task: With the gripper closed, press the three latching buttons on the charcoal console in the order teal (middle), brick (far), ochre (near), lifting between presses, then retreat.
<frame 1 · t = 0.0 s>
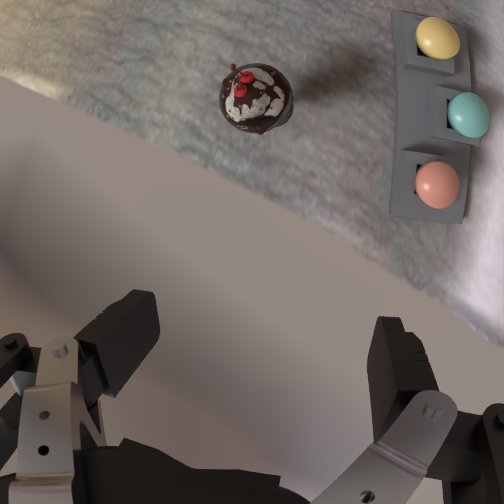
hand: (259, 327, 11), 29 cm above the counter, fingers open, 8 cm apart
button teal: (464, 115, 25), point 5 cm above the counter, slide at 0.0 cm
button ochre: (433, 41, 23), point 5 cm above the counter, slide at 0.0 cm
sundae: (271, 107, 35), on the counter
console: (432, 114, 31), on the counter
button brick: (433, 182, 29), point 5 cm above the counter, slide at 0.0 cm
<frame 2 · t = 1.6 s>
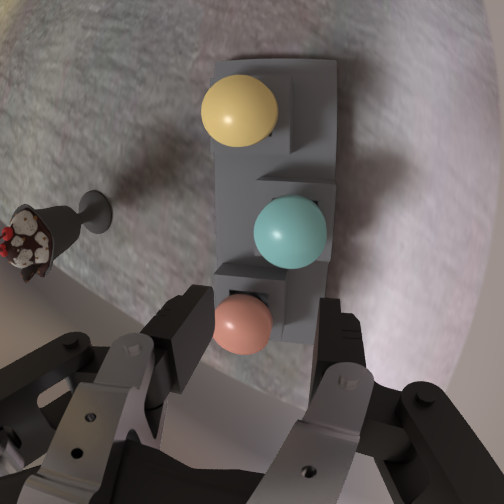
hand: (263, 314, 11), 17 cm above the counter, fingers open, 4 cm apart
button teal: (292, 226, 22), point 5 cm above the counter, slide at 0.0 cm
button ochre: (244, 112, 20), point 5 cm above the counter, slide at 0.0 cm
sundae: (95, 211, 32), on the counter
console: (275, 208, 28), on the counter
button brick: (245, 317, 26), point 5 cm above the counter, slide at 0.0 cm
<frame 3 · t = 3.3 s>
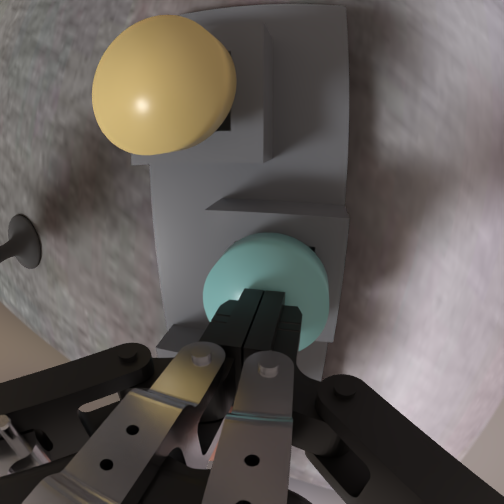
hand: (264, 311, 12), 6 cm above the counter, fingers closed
button teal: (272, 283, 13), point 4 cm above the counter, slide at 1.1 cm, touching gripper
button ochre: (176, 88, 10), point 5 cm above the counter, slide at 0.0 cm
sundae: (25, 240, 22), on the counter
console: (247, 246, 18), on the counter
button brick: (202, 410, 16), point 5 cm above the counter, slide at 0.0 cm
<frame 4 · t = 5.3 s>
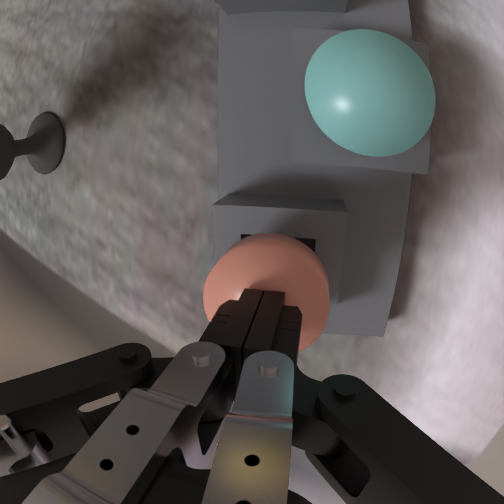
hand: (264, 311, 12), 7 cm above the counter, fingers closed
button teal: (364, 97, 11), point 4 cm above the counter, slide at 1.3 cm
sundae: (46, 142, 19), on the counter
console: (317, 103, 15), on the counter
button brick: (272, 283, 13), point 5 cm above the counter, slide at 0.1 cm, touching gripper
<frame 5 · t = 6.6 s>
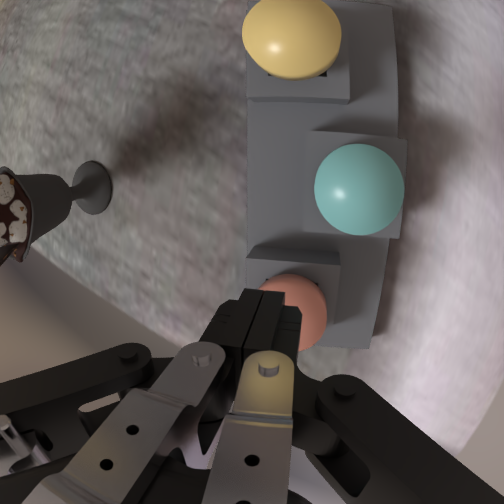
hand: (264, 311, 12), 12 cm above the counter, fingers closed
button teal: (356, 185, 17), point 4 cm above the counter, slide at 1.3 cm
button ochre: (294, 42, 14), point 5 cm above the counter, slide at 0.0 cm
sundae: (92, 187, 26), on the counter
console: (321, 176, 21), on the counter
button brick: (290, 304, 20), point 4 cm above the counter, slide at 1.3 cm
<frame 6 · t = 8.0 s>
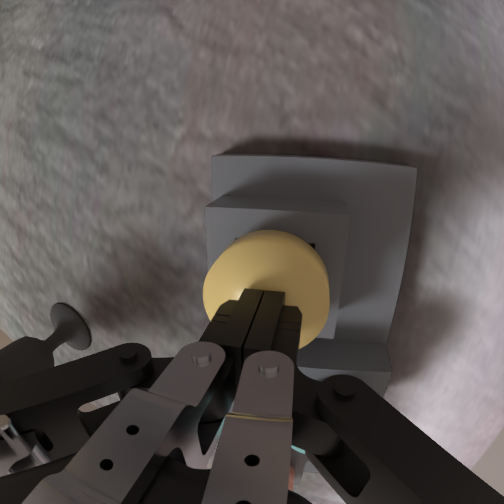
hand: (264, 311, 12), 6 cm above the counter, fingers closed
button teal: (328, 407, 16), point 4 cm above the counter, slide at 1.3 cm
button ochre: (272, 280, 13), point 4 cm above the counter, slide at 1.0 cm, touching gripper
sundae: (70, 325, 24), on the counter
console: (300, 360, 20), on the counter
button brick: (264, 465, 19), point 4 cm above the counter, slide at 1.3 cm
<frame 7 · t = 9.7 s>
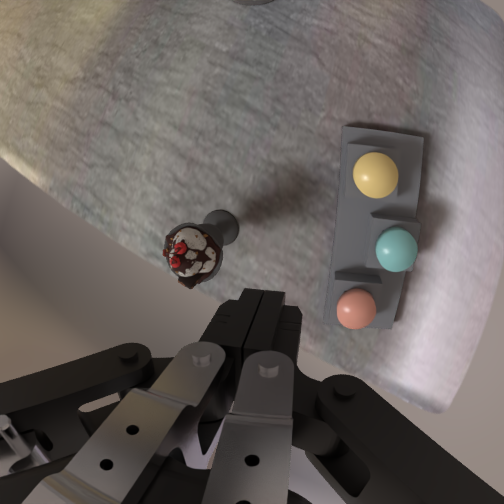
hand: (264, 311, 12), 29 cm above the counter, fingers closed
button teal: (393, 245, 34), point 4 cm above the counter, slide at 1.3 cm
button ochre: (373, 173, 32), point 4 cm above the counter, slide at 1.3 cm
sundae: (220, 227, 42), on the counter
console: (372, 234, 38), on the counter
button brick: (355, 303, 37), point 4 cm above the counter, slide at 1.3 cm
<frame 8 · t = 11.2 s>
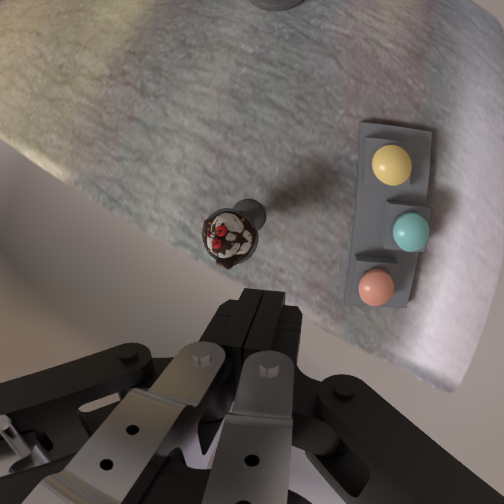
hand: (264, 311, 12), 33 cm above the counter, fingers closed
button teal: (408, 228, 37), point 4 cm above the counter, slide at 1.3 cm
button ochre: (389, 163, 35), point 4 cm above the counter, slide at 1.3 cm
sundae: (248, 215, 45), on the counter
console: (387, 219, 41), on the counter
button brick: (374, 283, 40), point 4 cm above the counter, slide at 1.3 cm
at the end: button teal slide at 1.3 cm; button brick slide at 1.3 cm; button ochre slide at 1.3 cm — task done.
